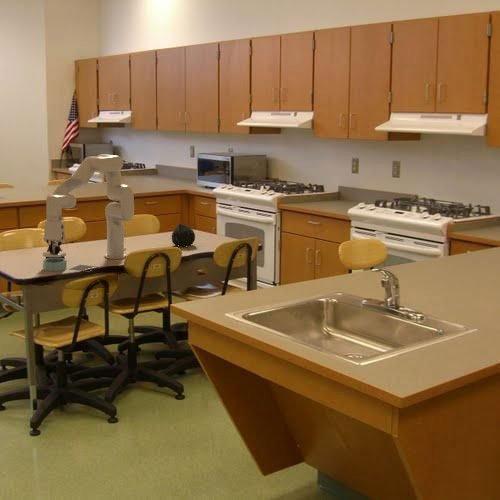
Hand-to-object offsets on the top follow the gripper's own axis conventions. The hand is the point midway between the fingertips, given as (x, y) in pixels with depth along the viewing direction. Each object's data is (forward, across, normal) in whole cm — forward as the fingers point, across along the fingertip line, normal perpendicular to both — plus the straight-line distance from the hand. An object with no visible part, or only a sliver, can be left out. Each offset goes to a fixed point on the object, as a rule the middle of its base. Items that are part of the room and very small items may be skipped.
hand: (54, 252), depth 384 cm
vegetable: (+9, +9, -15) cm, 20 cm away
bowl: (+9, 0, 0) cm, 9 cm away
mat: (+9, -13, -8) cm, 18 cm away
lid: (+1, 0, 0) cm, 1 cm away
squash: (+9, -37, -90) cm, 98 cm away
